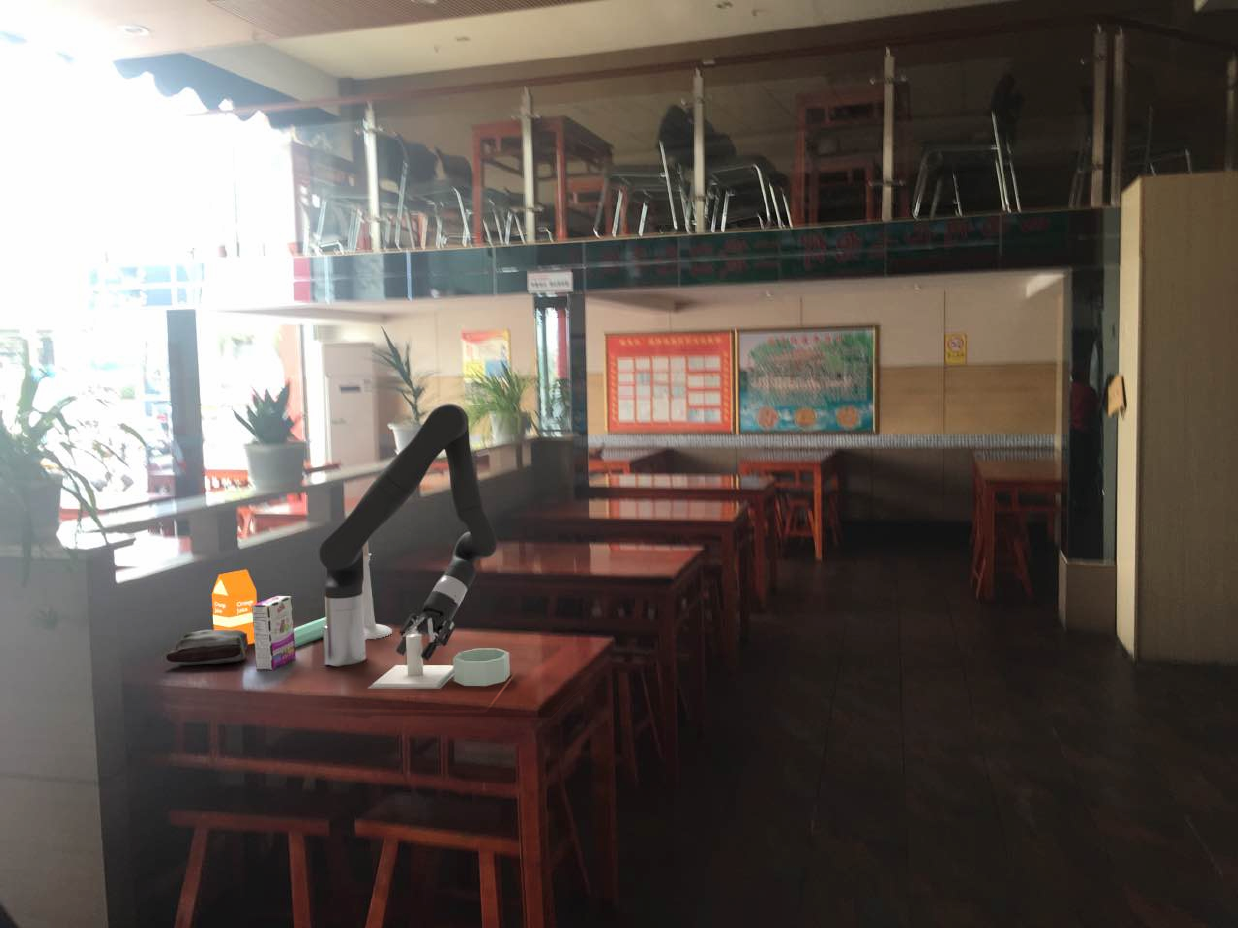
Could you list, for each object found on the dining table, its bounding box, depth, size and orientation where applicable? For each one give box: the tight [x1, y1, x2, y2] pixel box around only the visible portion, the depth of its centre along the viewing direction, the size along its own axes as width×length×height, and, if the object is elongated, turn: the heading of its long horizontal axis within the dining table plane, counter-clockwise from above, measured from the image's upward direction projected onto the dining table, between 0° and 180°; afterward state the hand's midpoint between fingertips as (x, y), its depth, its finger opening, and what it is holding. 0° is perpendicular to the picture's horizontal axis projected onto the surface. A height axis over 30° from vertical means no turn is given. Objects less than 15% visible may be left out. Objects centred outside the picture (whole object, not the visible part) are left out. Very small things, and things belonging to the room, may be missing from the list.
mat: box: [367, 671, 454, 690], centre depth 230 cm, size 17×17×1 cm
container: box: [294, 616, 326, 648], centre depth 270 cm, size 6×6×25 cm
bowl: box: [452, 647, 511, 687], centre depth 228 cm, size 12×12×6 cm
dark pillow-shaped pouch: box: [166, 629, 249, 666], centre depth 250 cm, size 18×11×8 cm, turn 93°
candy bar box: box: [252, 595, 297, 671], centre depth 247 cm, size 11×5×16 cm, turn 168°
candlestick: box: [362, 539, 393, 641], centre depth 275 cm, size 13×13×30 cm
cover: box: [372, 633, 454, 687], centre depth 230 cm, size 15×15×10 cm
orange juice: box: [211, 569, 258, 645], centre depth 270 cm, size 8×9×20 cm
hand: (411, 656), depth 229 cm, fingers open, 8 cm apart
